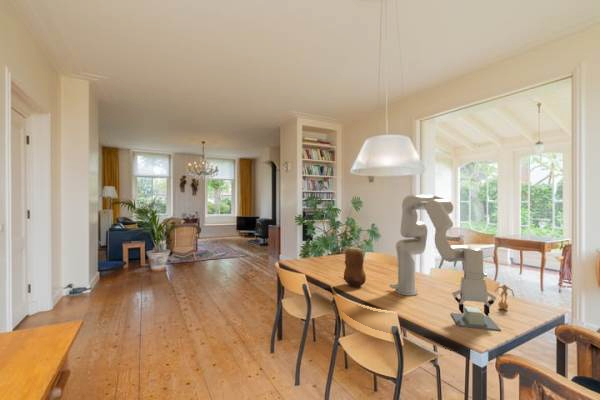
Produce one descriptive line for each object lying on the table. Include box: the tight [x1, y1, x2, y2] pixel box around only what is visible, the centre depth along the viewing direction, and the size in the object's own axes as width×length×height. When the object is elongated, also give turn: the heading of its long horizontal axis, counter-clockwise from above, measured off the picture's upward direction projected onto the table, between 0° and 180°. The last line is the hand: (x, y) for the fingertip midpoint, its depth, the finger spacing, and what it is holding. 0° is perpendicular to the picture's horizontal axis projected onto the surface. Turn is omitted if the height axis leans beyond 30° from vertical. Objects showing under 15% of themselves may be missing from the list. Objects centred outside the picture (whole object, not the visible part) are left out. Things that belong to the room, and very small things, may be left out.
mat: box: [450, 312, 502, 332], centre depth 126 cm, size 16×14×1 cm
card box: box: [463, 305, 485, 325], centre depth 126 cm, size 9×6×4 cm, turn 163°
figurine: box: [494, 284, 515, 310], centre depth 141 cm, size 8×6×12 cm
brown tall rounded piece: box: [343, 246, 367, 288], centre depth 181 cm, size 14×13×25 cm
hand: (473, 313), depth 126 cm, fingers open, 9 cm apart
